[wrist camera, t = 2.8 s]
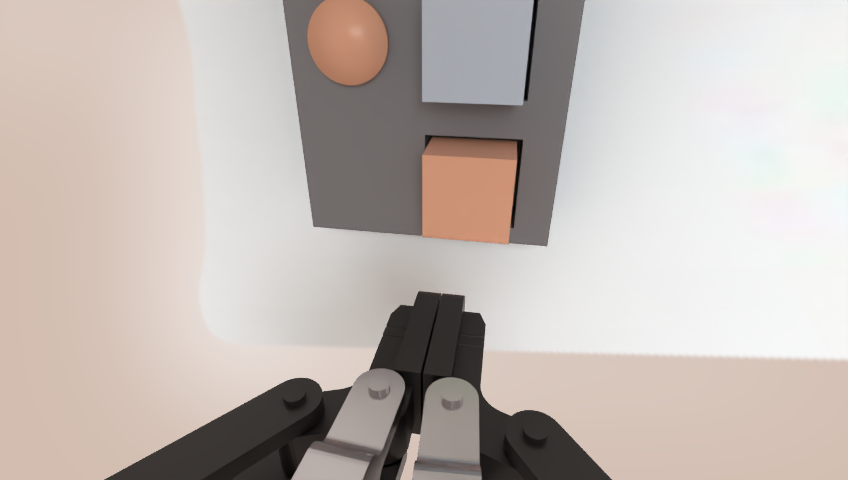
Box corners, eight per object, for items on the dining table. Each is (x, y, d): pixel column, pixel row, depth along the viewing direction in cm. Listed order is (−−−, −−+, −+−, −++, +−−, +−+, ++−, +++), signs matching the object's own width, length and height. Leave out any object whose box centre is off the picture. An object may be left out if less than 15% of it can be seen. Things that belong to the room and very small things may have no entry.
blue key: (434, -12, 21) (421, -12, 18) (532, -12, 20) (535, -13, 17) (433, 88, 23) (422, 101, 20) (521, 91, 22) (522, 105, 20)
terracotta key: (432, 136, 24) (422, 154, 22) (516, 140, 24) (517, 160, 21) (432, 211, 26) (422, 236, 24) (508, 217, 26) (508, 244, 23)
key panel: (288, -217, 20) (242, -260, 17) (609, -243, 18) (631, -297, 15) (333, 202, 31) (311, 229, 27) (543, 218, 28) (547, 249, 25)
